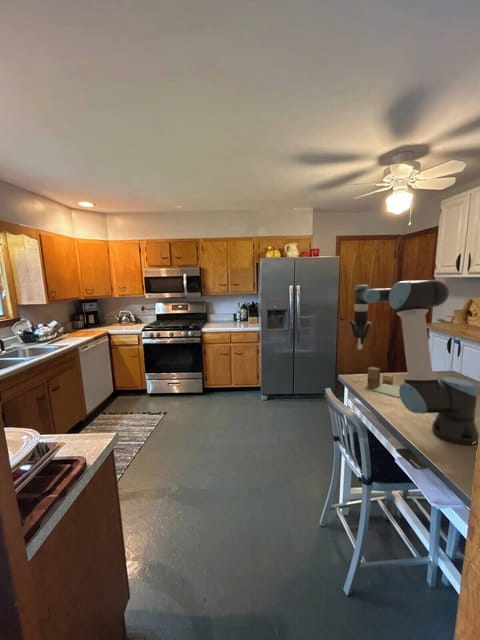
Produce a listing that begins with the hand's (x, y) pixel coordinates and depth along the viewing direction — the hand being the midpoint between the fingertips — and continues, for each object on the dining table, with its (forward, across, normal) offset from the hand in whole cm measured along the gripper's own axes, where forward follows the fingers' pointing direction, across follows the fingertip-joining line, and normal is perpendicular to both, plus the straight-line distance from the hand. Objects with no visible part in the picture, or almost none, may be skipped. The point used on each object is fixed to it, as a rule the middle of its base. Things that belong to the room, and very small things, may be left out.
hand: (360, 348), depth 173 cm
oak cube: (+22, -12, -12) cm, 27 cm away
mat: (+21, -19, 0) cm, 29 cm away
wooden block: (+21, -9, 0) cm, 23 cm away
